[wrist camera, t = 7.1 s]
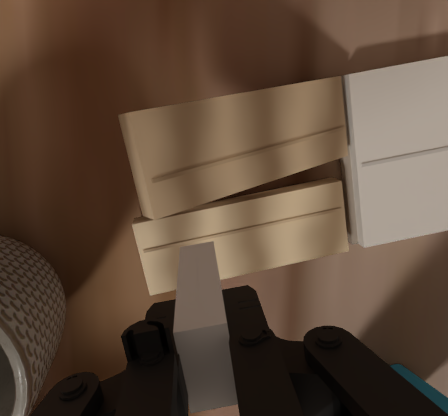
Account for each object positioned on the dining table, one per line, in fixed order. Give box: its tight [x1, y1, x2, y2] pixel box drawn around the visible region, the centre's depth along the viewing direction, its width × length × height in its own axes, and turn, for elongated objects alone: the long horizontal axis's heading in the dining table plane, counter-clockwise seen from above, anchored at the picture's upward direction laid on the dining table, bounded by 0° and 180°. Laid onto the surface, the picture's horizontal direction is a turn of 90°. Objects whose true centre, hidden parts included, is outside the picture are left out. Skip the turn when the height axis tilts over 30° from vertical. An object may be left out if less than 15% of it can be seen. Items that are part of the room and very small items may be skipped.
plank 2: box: [132, 177, 349, 295], centre depth 33 cm, size 18×6×2 cm, turn 99°
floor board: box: [340, 56, 448, 248], centre depth 33 cm, size 11×15×2 cm
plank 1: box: [118, 76, 348, 220], centre depth 27 cm, size 18×6×2 cm, turn 100°
